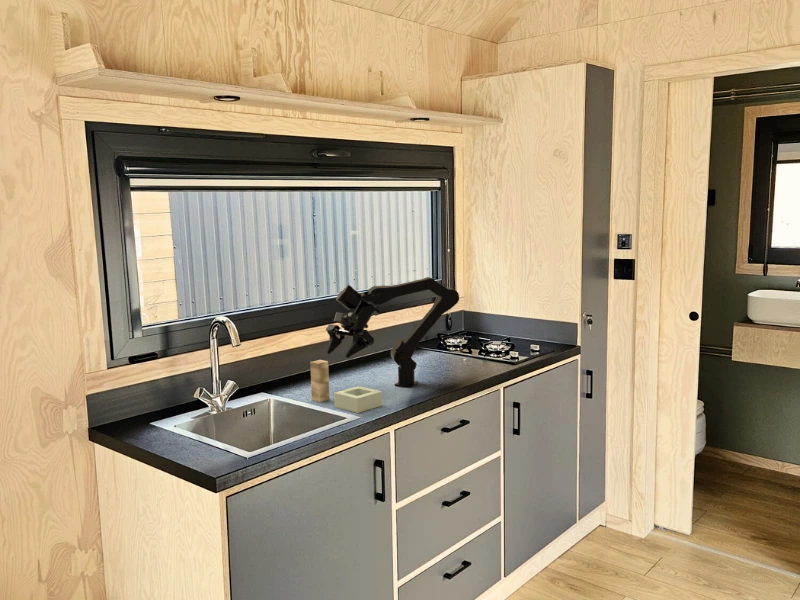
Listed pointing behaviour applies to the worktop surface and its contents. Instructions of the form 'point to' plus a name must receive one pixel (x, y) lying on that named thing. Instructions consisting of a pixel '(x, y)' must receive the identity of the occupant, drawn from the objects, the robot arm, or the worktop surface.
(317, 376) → the peg
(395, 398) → the worktop surface
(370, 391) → the socket block
